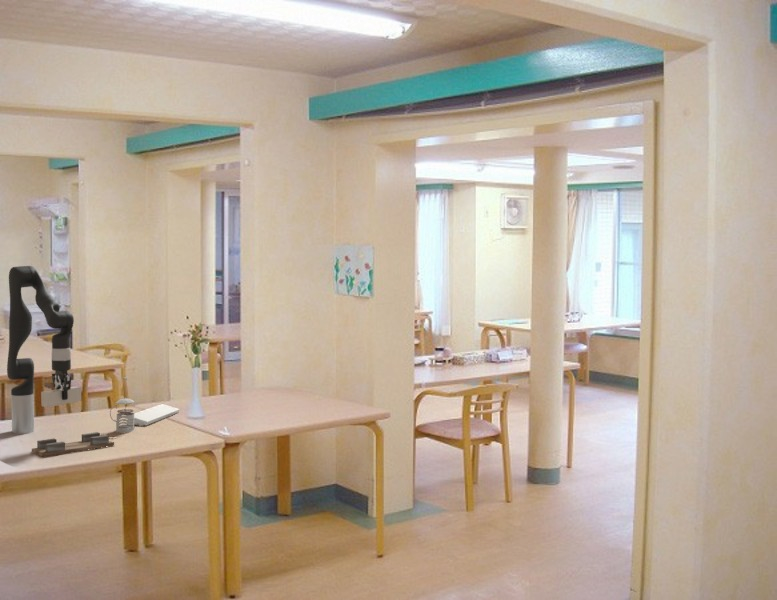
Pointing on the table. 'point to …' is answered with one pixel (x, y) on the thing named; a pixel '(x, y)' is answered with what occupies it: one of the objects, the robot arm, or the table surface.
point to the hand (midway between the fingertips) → (61, 398)
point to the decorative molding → (153, 414)
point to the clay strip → (60, 397)
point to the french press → (124, 412)
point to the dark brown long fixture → (71, 445)
